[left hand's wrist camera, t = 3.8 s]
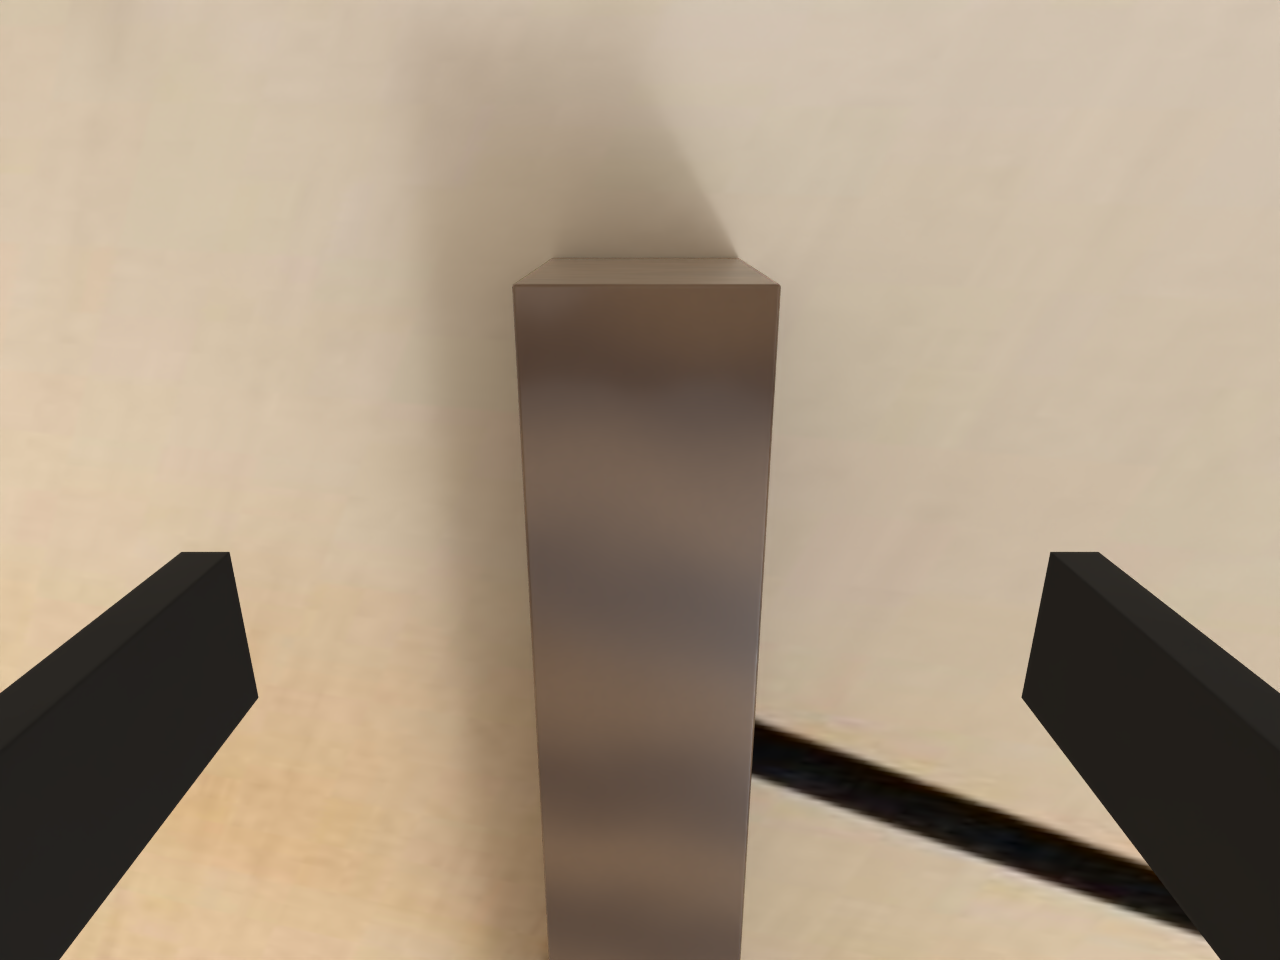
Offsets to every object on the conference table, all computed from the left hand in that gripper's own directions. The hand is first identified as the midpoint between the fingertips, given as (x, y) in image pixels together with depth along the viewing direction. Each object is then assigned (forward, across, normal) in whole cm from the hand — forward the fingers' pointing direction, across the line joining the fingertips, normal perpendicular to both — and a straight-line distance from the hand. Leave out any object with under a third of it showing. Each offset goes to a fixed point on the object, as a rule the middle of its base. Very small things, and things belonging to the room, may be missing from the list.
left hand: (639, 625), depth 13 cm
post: (+14, 0, -34) cm, 37 cm away
